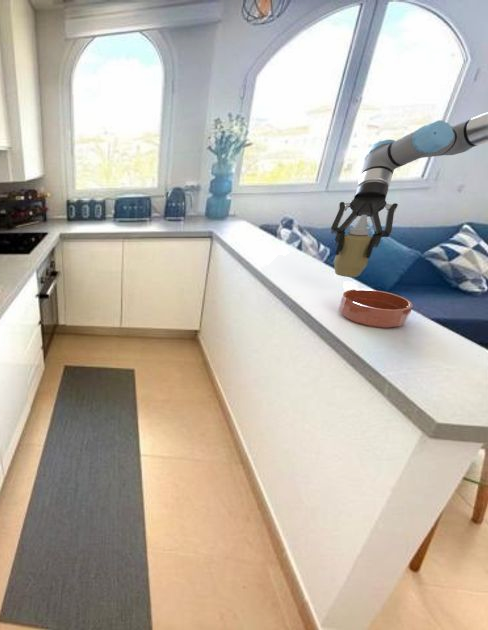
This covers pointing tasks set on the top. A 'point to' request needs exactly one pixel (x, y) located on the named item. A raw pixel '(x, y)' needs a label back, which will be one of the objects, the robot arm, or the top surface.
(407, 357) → the top surface
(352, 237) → the squeeze bottle
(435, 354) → the top surface
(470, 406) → the top surface
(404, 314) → the bowl
